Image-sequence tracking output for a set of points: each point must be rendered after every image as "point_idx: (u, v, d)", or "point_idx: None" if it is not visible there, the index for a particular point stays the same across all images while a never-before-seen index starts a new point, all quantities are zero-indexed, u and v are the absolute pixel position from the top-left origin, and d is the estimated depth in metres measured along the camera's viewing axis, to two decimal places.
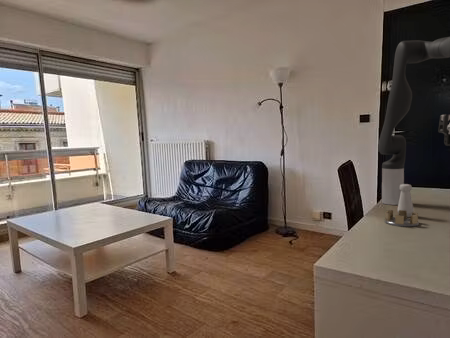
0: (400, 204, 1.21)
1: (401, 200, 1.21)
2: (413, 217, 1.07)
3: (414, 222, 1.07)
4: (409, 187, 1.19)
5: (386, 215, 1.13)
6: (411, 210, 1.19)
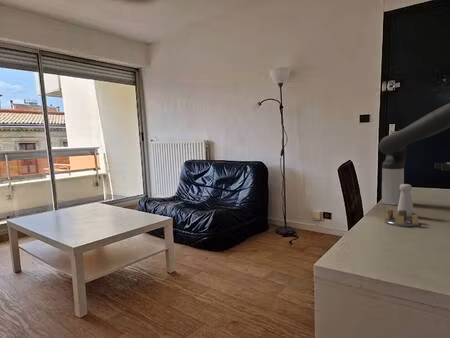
0: (400, 204, 1.21)
1: (401, 200, 1.21)
2: (413, 217, 1.07)
3: (414, 222, 1.07)
4: (409, 187, 1.19)
5: (386, 215, 1.13)
6: (411, 210, 1.19)
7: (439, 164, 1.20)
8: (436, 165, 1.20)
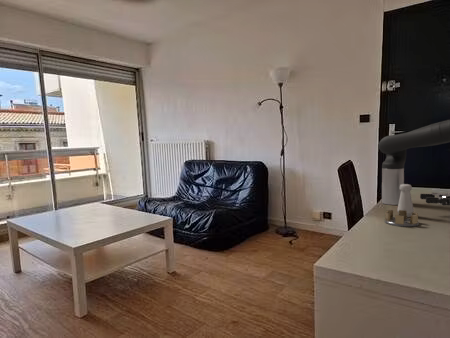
0: (400, 204, 1.21)
1: (401, 200, 1.21)
2: (413, 217, 1.07)
3: (414, 222, 1.07)
4: (409, 187, 1.19)
5: (386, 215, 1.13)
6: (411, 210, 1.19)
7: (424, 195, 1.23)
8: (421, 196, 1.23)
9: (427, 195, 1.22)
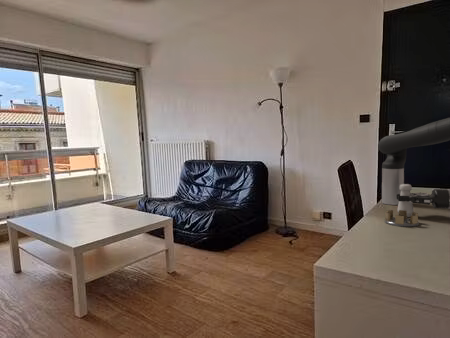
0: (400, 204, 1.21)
1: None
2: (413, 217, 1.07)
3: (414, 222, 1.07)
4: (409, 187, 1.19)
5: (386, 215, 1.13)
6: (411, 210, 1.19)
7: None
8: (397, 196, 1.24)
9: None
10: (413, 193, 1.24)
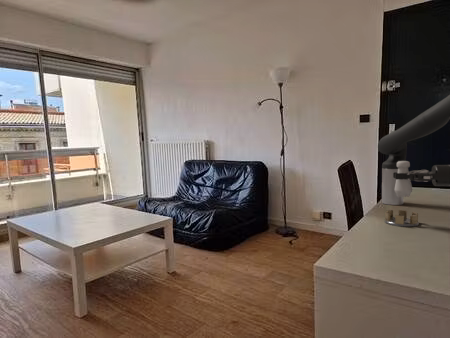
0: (397, 183, 1.11)
1: None
2: (413, 217, 1.07)
3: (414, 222, 1.07)
4: (407, 164, 1.09)
5: (386, 215, 1.13)
6: (409, 189, 1.09)
7: None
8: (394, 174, 1.13)
9: None
10: (411, 171, 1.14)
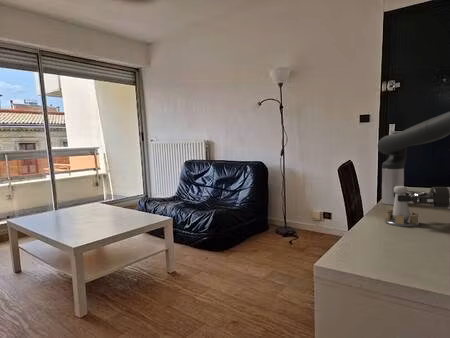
0: (395, 208, 1.11)
1: (396, 203, 1.11)
2: (413, 217, 1.07)
3: (414, 222, 1.07)
4: (404, 189, 1.09)
5: (386, 215, 1.13)
6: (407, 214, 1.09)
7: None
8: None
9: None
10: (411, 191, 1.15)
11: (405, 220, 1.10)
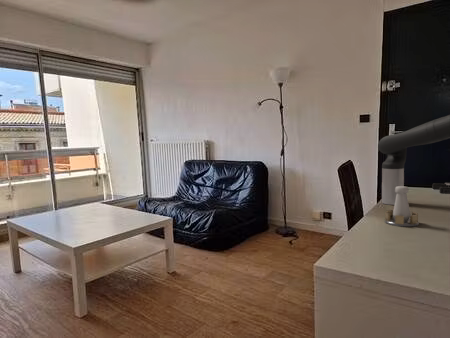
0: (396, 208, 1.11)
1: (397, 203, 1.11)
2: (413, 217, 1.07)
3: (414, 222, 1.07)
4: (405, 189, 1.09)
5: (386, 215, 1.13)
6: (408, 214, 1.09)
7: (437, 185, 1.11)
8: (434, 186, 1.11)
9: (440, 185, 1.10)
10: None
11: (405, 220, 1.10)
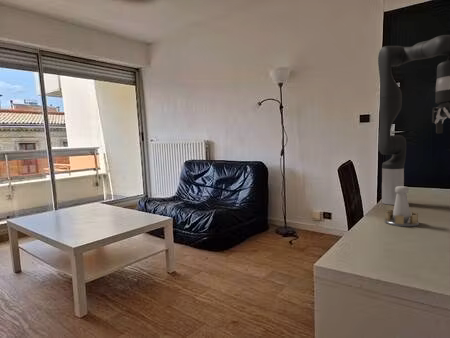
0: (396, 208, 1.11)
1: (397, 203, 1.11)
2: (413, 217, 1.07)
3: (414, 222, 1.07)
4: (405, 189, 1.09)
5: (386, 215, 1.13)
6: (408, 214, 1.09)
7: (438, 129, 1.18)
8: (439, 132, 1.19)
9: (438, 127, 1.18)
10: (433, 117, 1.20)
11: (405, 220, 1.10)
